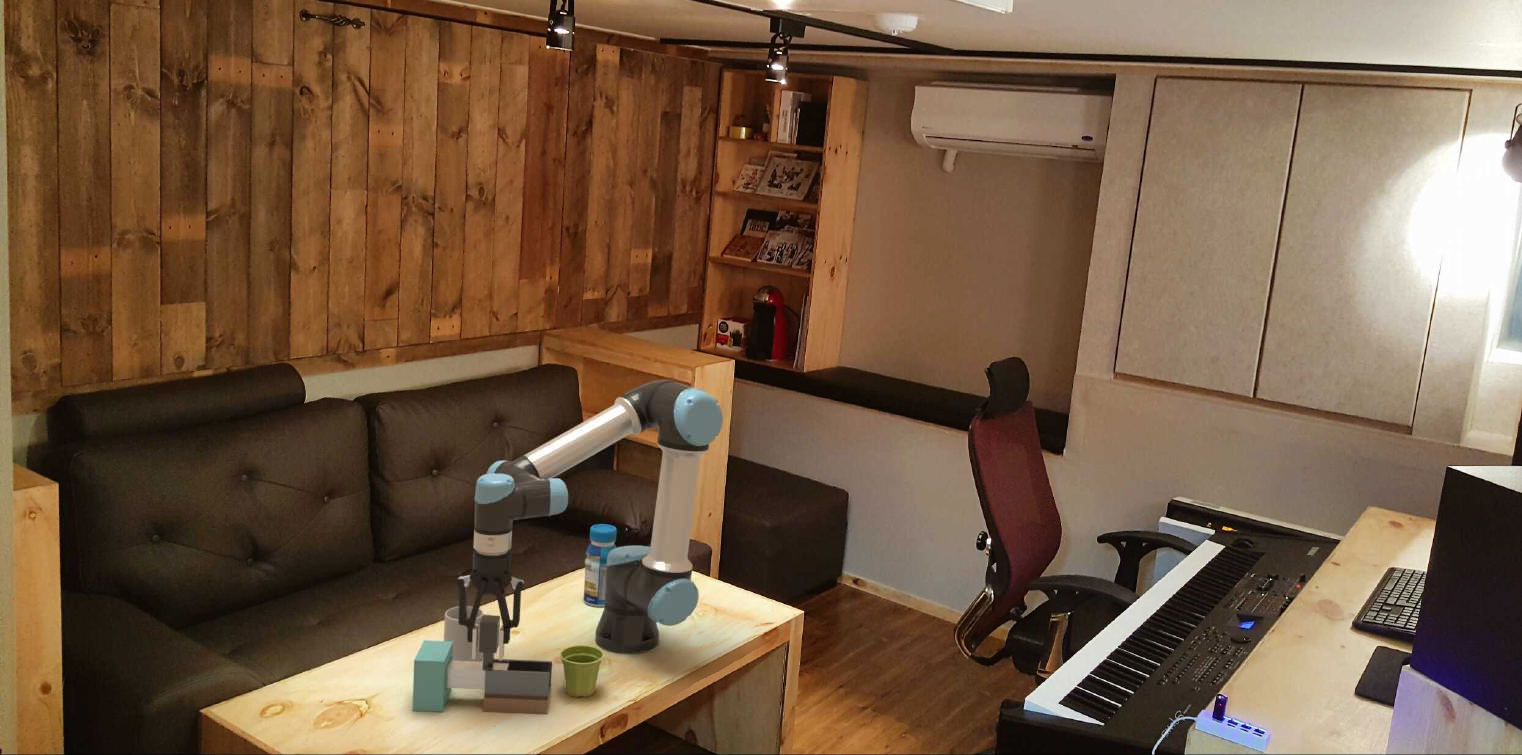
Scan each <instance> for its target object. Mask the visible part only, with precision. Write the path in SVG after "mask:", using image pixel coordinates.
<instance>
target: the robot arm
mask: <svg viewBox="0 0 1522 755" xmlns="http://www.w3.org/2000/svg"><path fill="white" fill-rule="evenodd" d="M723 416H724V415H723V411H722V407H721V406H720V403H719V401H717V399H716V398H715V397H714V396H712V395H711V394H710V393H707V392H706V391H704V390H702V389H700V388H697V387H693V386H691V385H687V384H684V383H680V382H678V381H677V380H672V379H658V380H653V381H650V382H647V383H644V384H643V385H639V386H638V387H635V388H633V389H631V390H629V391H627V392H625V393H623V394H622V395H620V396H618V397H617V398H616V399H615V401H614V404H613V405H612V406H610V407H608V408H606V409H604V410H602V411H601V412H599V413H597V414H595V415H594V416H592V417H590V418H588V419H586V420H585V421H583V422H581V423H579V424H578V425H576V426H574V427H572V428H570V429H569V430H567V431H565V432H563V433H561V434H560V435H558V436H556V437H554V438H552V439H550V440H548V441H547V442H545V443H543V444H542V445H540V446H538V447H536V448H535V449H533V450H531V451H530V452H529V451H528V453H526V454H524V455H522V456H520V457H519V458H517V459H515V460H513V461H509V460H497V461H495V462H494V463H492V464H491V465H490V466H489V468H488V470H487V471H486V473H485V474H483V475H481V476H479V477H478V478H477V480H476V484H475V485H476V486H475V492H474V493H475V495H474V528H473V529H474V531H473V546H472V547H473V549H474V550H473V554H472V570H471V572H470V574H469V575H459V577H458V578H457V581H456V584H457V587H458V589H459V597H458V598H459V604H458V607H459V624H460V625H465V626H466V627H467V628H468V632H467V641H468V642H472V659H476V656H477V654H478V629H479V624H475V621H476V617H477V614H478V611H479V609H481V608H480V607H481V604H482V600H483V597H484V595H493V596H495V598H496V600H497V605H498V609H499V614H500V620H501V623H502V625H500V633H499V647H498V659H499V660H502V659H504V657H505V644H506V645H509V642H510V640H511V629H513V628H515V629H516V628H518V627H519V625H520V621H521V601H522V596H521V595H522V590H523V587H524V584H525V578H522V577H521V578H518V577H517V578H516V577H514V576H513V574H512V571H511V563H512V562H511V561H512V559H511V558H512V557H511V556H512V552H511V549H512V537H513V521H516V520H517V521H518V520H523V519H530V518H539V517H551V516H553V515H558V514H561V513H563V512H564V511H565V510H566V509H567V507H568V504H569V492H568V488H567V485H566V483H565V481H563V480H562V479H561V478H555V477H557V476H559V475H560V474H563V473H564V472H566V471H568V470H569V469H571V468H573V467H575V466H577V465H578V464H580V463H582V462H583V461H585V460H587V459H589V458H590V457H592V456H594V455H595V454H597V453H599V452H601V451H602V450H605V449H607V448H608V447H610V446H611V445H614V444H615V443H616V442H619V441H620V440H622V439H623V438H626V437H627V436H629V435H633V436H637V435H640V434H642V433H643V432H645V431H648V430H653V429H654V430H656V429H657V430H658V434H657V441H656V444H657V446H658V447H659V448H660V449H661V451H662V458H661V464H660V470H659V479H658V487H657V495H656V501H655V510H654V516H653V517H654V518H653V525H652V532H651V533H652V534H651V541H650V546H647V545H646V546H645V545H624V546H618V547H617V548H615V549H613V550H612V551H610V552H609V554H608V558H607V564H606V566H607V570H606V588H605V607H603V608H604V609H603V612H602V613H601V617H600V619H599V621H598V624H597V626H596V629H595V635H594V642H595V643H596V645H597V646H599V647H600V648H601V649H604V650H607V651H609V652H614V653H620V654H638V653H645V652H648V651H650V650H653V649H655V648H656V647H657V646H658V645H659V640H660V638H659V637H660V632H659V627H658V625H657V623H659V624H661V625H663V626H670V627H672V626H676V625H679V624H681V623H683V622H684V621H686V620H687V618H688V617H689V616H691V615H692V614H693V613H694V611H695V610H696V607H697V605H698V602H699V598H700V596H699V595H700V593H699V590H698V587H697V586H696V584H695V582H694V581H692V573H693V563H692V561H690V560H689V558H688V555H689V546H690V540H691V539H690V538H691V531H692V525H693V524H692V523H693V516H694V510H695V501H696V493H697V488H698V487H697V486H698V480H699V473H700V472H699V471H700V465H701V464H700V463H701V457H702V456H703V455H705V454H706V453H707V452H708V451H709V449H710V444H711V443H712V442H714V441H715V440H716V437H717V436H719V435H720V432H721V430H722V427H723ZM470 583H472V584H473V585H474V587H475V588H476V590H477V592H476V595H475V599H474V602H473V606H472V607H473V609H472V612H471V615H470V618H467V606H468V588H469V586H470ZM509 584H511V586H512V587H511V588H512V589H513V591H514V592H513V602H512V604H513V605H512V619H511V617H510V612H509V608H508V603H507V598H506V591H505V589H506V588H507V587H508V586H509Z"/></svg>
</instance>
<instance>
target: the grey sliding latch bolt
mask: <svg viewBox="0 0 1522 755" xmlns="http://www.w3.org/2000/svg"><path fill="white" fill-rule="evenodd" d="M500 628H501V615H493V614H490V615H483V617H482V619H481V622H480V638H479V652H482V661H480V662H478V661H455V660H449V662H448V664H447V667H446V684H445V688H451V689H463V690H484V691H485V670H486V669H487V670H509V663H500V662H494V659H495V654H497V651H498V650H499V636H500Z"/></svg>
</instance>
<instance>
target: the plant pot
mask: <svg viewBox="0 0 1522 755" xmlns="http://www.w3.org/2000/svg"><path fill="white" fill-rule="evenodd" d="M604 657H605V652H604V651H603V650H602V648H601V649H600V648H598V647H596V646H593V645H585V644H584V645H583V644H578V645H570V646H568V647H566V648H563V649H562V650H561V651H560V653H559V658H560V659H561V663H562V664H563V671H564V672H563V674H564V681H565V683H564V685H565V691H566V692H565V693H567V694H568V695H570V696H571V697H575V698H578V697H584V698H585V697H586V698H587V697H589V696H592V695H593V694H594V693H595V691H596V685H597V680H598V676H599V671H600V666H601V664H602V661H603V659H604Z"/></svg>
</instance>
